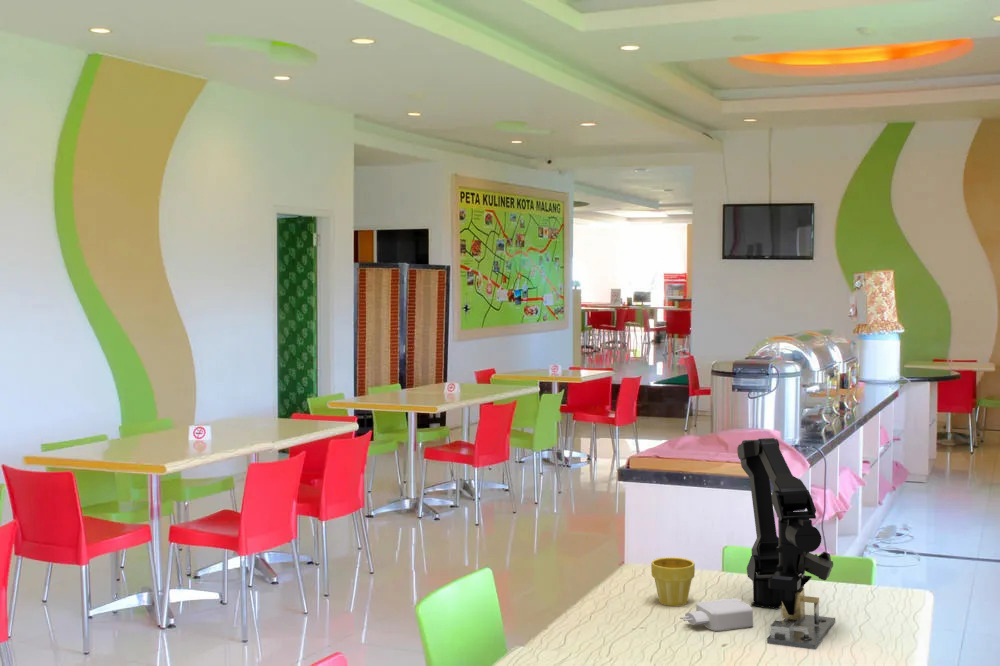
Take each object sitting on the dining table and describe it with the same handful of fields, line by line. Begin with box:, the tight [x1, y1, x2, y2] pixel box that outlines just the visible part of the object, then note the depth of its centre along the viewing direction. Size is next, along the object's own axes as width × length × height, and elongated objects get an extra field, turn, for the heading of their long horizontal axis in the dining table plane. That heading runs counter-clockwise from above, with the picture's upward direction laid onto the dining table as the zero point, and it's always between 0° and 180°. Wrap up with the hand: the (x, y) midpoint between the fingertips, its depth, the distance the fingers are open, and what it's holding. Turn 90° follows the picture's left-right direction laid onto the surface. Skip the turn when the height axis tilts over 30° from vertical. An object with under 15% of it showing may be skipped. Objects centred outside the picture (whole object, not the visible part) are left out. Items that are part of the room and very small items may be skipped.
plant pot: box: [650, 556, 696, 607], centre depth 255 cm, size 10×10×10 cm
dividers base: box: [766, 614, 836, 650], centre depth 229 cm, size 10×20×4 cm, turn 151°
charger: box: [679, 597, 754, 632], centre depth 236 cm, size 5×9×15 cm
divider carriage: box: [781, 587, 820, 625], centre depth 232 cm, size 8×4×7 cm, turn 61°
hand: (793, 612), depth 233 cm, fingers closed on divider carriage, 4 cm apart
